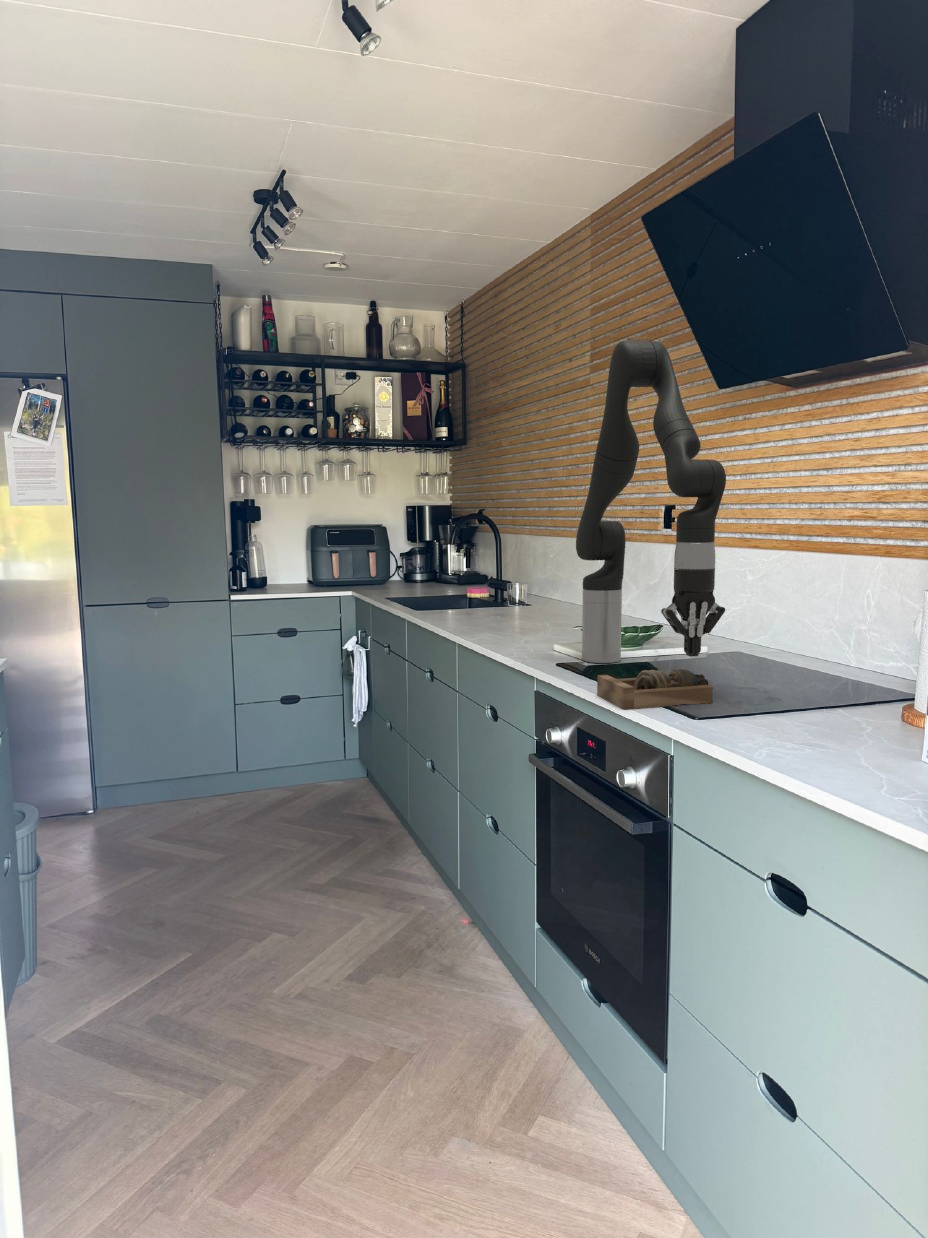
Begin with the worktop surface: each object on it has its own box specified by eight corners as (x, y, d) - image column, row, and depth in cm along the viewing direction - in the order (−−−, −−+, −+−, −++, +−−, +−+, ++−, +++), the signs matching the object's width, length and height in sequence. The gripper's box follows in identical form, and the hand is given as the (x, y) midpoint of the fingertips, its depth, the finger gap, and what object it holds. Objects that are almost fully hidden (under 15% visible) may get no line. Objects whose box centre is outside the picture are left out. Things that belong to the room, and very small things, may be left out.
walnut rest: (597, 695, 161) (597, 675, 160) (679, 689, 165) (680, 669, 165) (624, 709, 149) (624, 688, 149) (712, 702, 154) (712, 681, 153)
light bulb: (697, 690, 162) (629, 695, 158) (699, 663, 161) (630, 667, 157) (714, 698, 157) (643, 703, 153) (715, 670, 156) (645, 674, 152)
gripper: (714, 563, 161) (712, 650, 164) (653, 565, 158) (651, 654, 160) (736, 566, 154) (733, 657, 156) (672, 568, 151) (670, 661, 153)
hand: (692, 655), depth 158 cm, fingers closed
